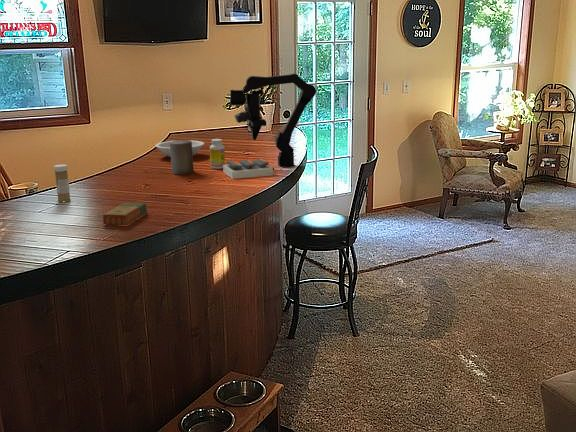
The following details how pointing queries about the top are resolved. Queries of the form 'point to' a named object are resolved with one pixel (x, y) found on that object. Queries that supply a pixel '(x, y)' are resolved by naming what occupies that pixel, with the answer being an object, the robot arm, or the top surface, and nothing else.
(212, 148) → the supplement bottle
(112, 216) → the carton
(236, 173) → the light switch panel
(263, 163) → the rocker
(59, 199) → the sprinkles bottle
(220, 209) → the top surface
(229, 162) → the rocker
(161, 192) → the top surface
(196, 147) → the soup bowl
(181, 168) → the pillar candle
